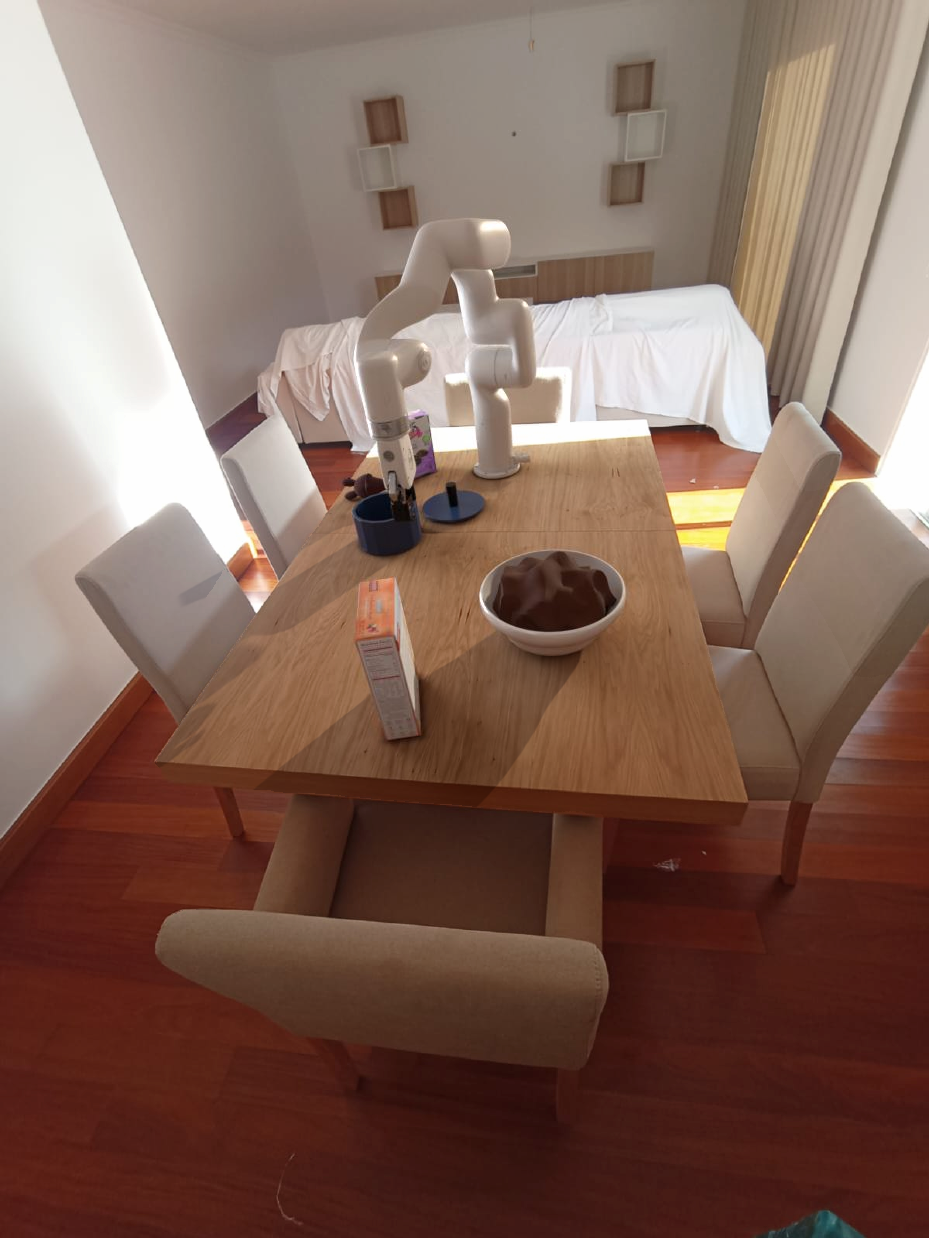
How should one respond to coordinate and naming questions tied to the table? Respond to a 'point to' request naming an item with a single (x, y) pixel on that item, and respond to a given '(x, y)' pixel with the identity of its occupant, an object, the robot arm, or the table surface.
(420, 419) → the candy box
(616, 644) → the table surface
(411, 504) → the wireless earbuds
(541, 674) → the table surface
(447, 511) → the lid
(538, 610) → the chocolate pudding bowl
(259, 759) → the table surface
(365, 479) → the icecream
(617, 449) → the table surface
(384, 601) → the cracker box
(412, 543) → the pot
